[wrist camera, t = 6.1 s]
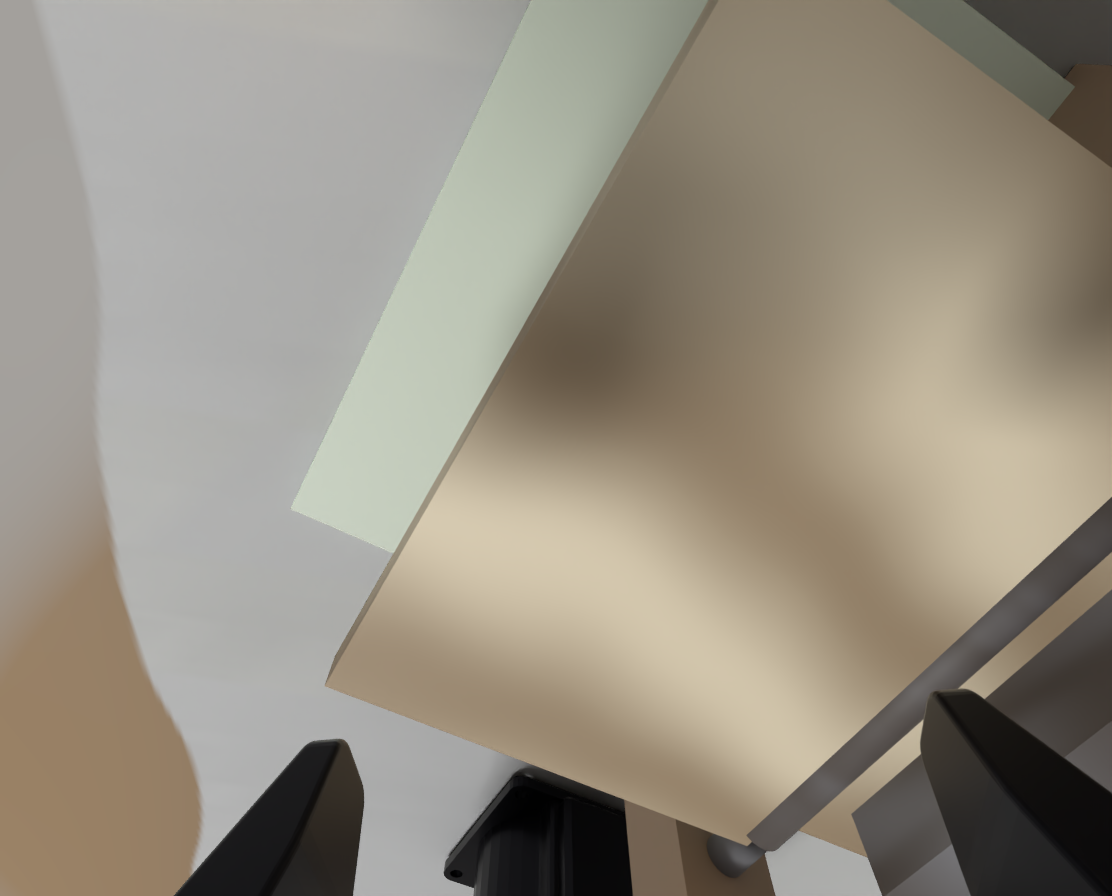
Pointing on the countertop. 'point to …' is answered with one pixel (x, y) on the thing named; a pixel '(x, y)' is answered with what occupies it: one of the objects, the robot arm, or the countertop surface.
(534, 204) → the stand
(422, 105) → the countertop surface
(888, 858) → the trapdoor
